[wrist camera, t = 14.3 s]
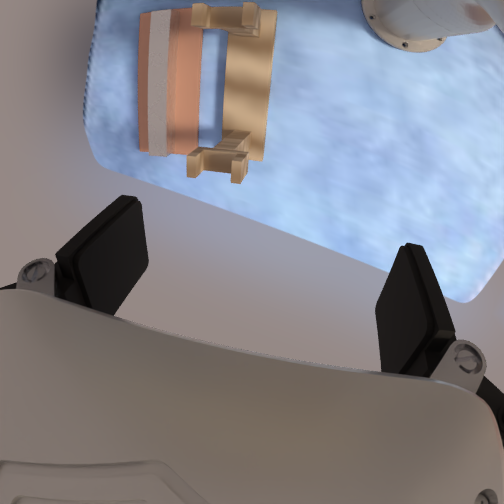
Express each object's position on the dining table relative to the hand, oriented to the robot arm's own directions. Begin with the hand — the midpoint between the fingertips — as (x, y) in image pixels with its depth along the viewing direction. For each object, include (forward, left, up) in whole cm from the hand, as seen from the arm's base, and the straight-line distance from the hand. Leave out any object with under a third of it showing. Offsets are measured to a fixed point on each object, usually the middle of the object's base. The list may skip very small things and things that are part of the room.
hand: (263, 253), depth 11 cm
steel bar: (-3, -20, -34) cm, 39 cm away
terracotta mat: (-3, -20, -34) cm, 40 cm away
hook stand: (-3, -8, -34) cm, 35 cm away
